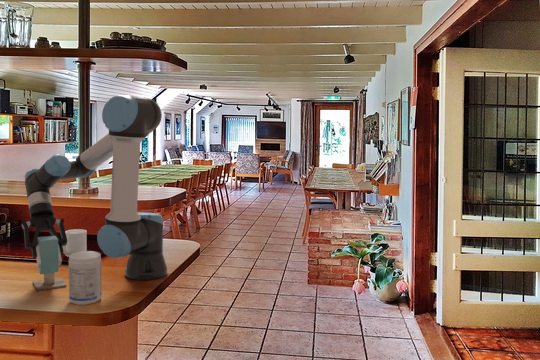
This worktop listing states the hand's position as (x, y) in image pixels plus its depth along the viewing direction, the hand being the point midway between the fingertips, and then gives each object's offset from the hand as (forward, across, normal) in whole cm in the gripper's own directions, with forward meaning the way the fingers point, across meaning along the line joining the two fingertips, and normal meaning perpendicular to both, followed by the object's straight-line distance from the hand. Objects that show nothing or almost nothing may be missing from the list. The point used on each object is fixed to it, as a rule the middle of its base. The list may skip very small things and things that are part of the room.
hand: (49, 264), depth 156 cm
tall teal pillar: (0, 0, -5) cm, 5 cm away
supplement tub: (+18, -7, +6) cm, 20 cm away
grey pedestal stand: (+4, 0, -8) cm, 9 cm away
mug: (-18, -15, -30) cm, 38 cm away
